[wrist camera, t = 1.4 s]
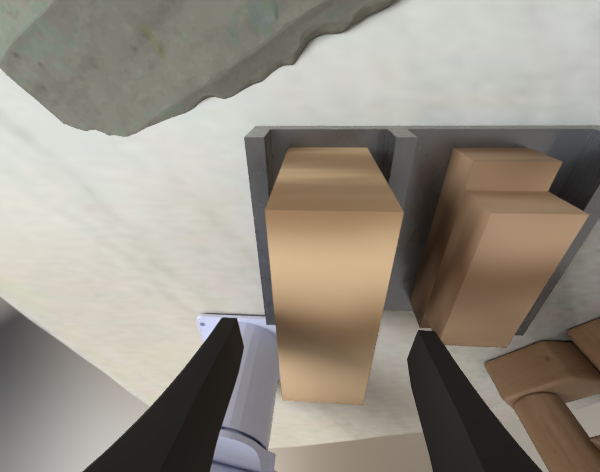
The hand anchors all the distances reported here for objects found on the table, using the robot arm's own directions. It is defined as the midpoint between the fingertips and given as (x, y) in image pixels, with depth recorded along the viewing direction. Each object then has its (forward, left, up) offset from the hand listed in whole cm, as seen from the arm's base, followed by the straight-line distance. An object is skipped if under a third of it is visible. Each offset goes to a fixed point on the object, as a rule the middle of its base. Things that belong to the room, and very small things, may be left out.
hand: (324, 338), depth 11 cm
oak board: (-1, 0, -9) cm, 9 cm away
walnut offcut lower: (-1, -9, -9) cm, 13 cm away
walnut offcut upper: (-1, -9, -6) cm, 11 cm away
